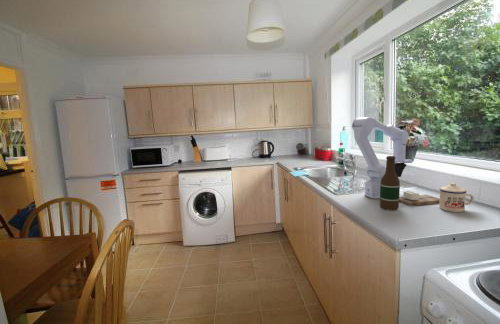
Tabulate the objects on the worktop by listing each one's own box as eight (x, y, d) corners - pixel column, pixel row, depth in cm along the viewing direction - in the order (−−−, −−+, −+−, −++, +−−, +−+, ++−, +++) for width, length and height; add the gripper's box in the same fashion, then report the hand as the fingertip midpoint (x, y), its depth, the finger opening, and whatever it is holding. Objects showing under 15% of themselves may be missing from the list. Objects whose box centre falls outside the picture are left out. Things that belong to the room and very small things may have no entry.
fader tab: (411, 200, 118) (411, 193, 117) (403, 197, 123) (403, 191, 122) (418, 199, 118) (419, 193, 118) (410, 196, 123) (410, 190, 123)
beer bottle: (396, 206, 116) (398, 155, 113) (401, 211, 108) (403, 157, 105) (378, 205, 118) (379, 155, 115) (381, 210, 111) (382, 157, 108)
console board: (410, 206, 115) (410, 202, 115) (394, 200, 125) (394, 197, 125) (443, 202, 118) (443, 199, 118) (425, 197, 128) (425, 194, 127)
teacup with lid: (443, 211, 106) (444, 185, 104) (435, 205, 114) (436, 180, 113) (478, 213, 102) (480, 186, 100) (467, 207, 110) (469, 181, 109)
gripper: (392, 153, 129) (391, 178, 131) (417, 152, 132) (415, 177, 133) (383, 152, 136) (382, 176, 138) (406, 151, 139) (405, 174, 140)
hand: (398, 176), depth 136 cm, fingers closed
